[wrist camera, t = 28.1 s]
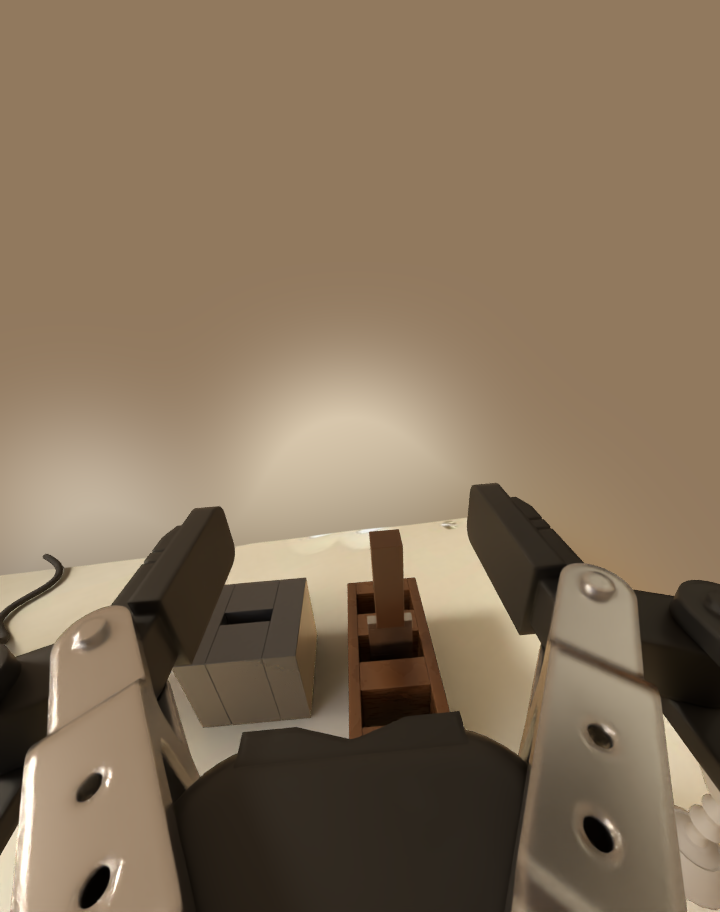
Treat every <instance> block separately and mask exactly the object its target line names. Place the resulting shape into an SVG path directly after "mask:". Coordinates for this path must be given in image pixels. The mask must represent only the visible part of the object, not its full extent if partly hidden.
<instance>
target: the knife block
mask: <svg viewBox="0 0 720 912" xmlns="http://www.w3.org/2000/svg"><path fill="white" fill-rule="evenodd" d="M317 636H318V635H317V630H316V625H315V620H314V615H313V610H312V605H311V600H310V595H309V590H308V585H307V580H306V578H297V579H286V580H274V581H263V582H251V583H240V584H230V585H224V587H223V590H222V592H221V594H220V597H219V599H218V602H217V604H216V607H215V609H214V611H213V614H212V616H211V619H210V621H209V624H208V626H207V628H206V631H205V633H204V636H203V638H202V641H201V643H200V645H199V648H198V650H197V653H196V655H195V658H194V660H193V663H192V665H184V666H173V668H172V670H173V672H174V674H175V676H176V677H177V679H178V681H179V683H180V685H181V687H182V689H183V691H184V693H185V694H186V696H187V698H188V700H189V702H190V704H191V706H192V708H193V710H194V711H195V713H196V715H197V717H198V719H199V721H200V723H201V725H202V727H203V728H204V727H215V726H226V725H237V724H248V723H259V722H270V721H281V720H291V719H302V718H311V711H312V699H313V686H314V674H315V661H316V649H317Z"/></svg>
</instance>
